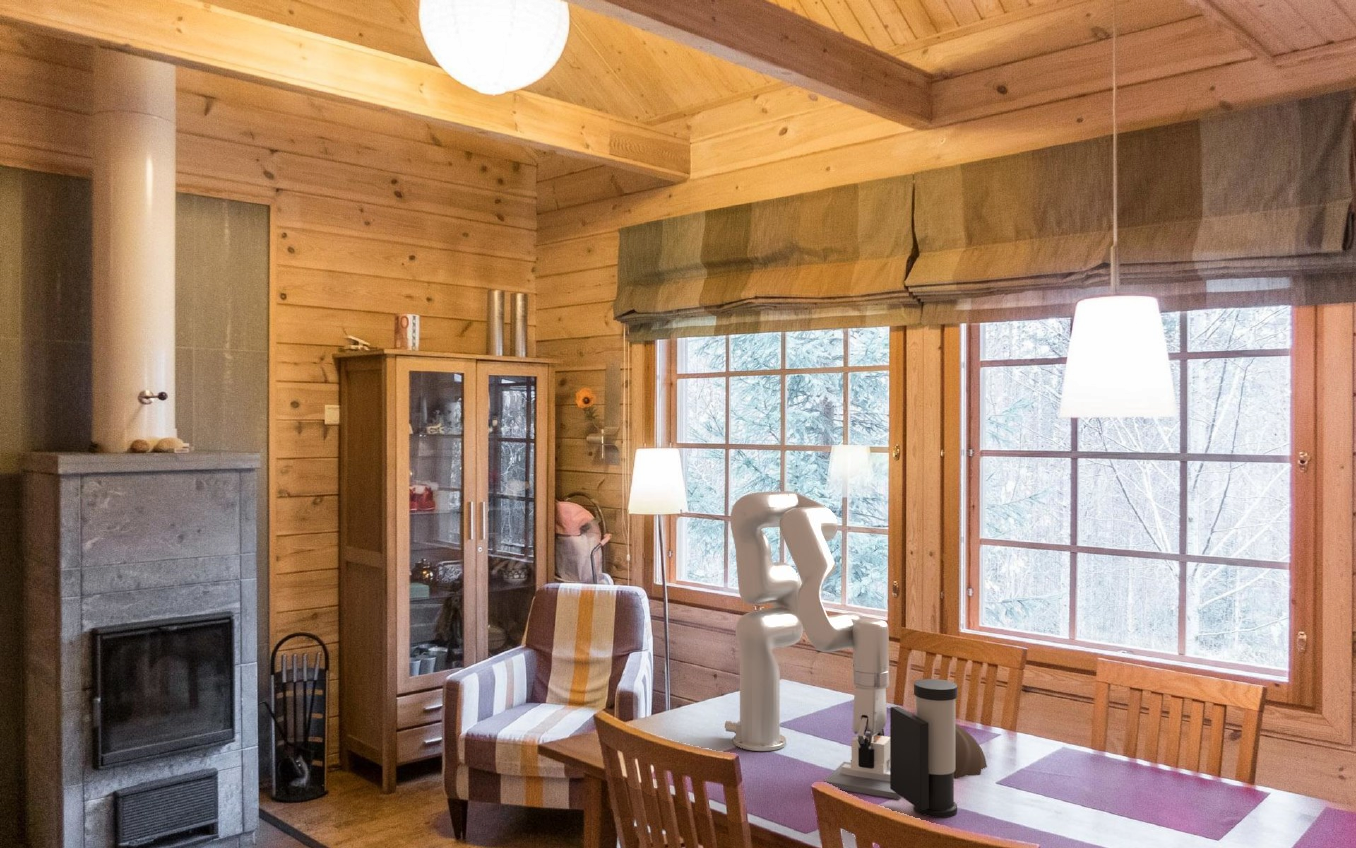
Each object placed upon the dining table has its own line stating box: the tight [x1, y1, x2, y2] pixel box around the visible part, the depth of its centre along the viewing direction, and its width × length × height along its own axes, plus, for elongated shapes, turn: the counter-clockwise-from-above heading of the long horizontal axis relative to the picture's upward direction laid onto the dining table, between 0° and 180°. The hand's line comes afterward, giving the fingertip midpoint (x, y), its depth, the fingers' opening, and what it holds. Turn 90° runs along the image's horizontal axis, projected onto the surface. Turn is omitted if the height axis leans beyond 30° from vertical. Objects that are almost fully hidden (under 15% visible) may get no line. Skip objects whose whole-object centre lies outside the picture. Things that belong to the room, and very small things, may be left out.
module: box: [850, 734, 890, 775], centre depth 214 cm, size 7×7×6 cm
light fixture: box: [889, 678, 959, 818], centre depth 199 cm, size 12×11×25 cm
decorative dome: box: [954, 723, 988, 779], centre depth 227 cm, size 19×20×10 cm
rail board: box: [823, 761, 902, 800], centre depth 215 cm, size 16×14×3 cm
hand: (871, 761), depth 214 cm, fingers closed on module, 7 cm apart
